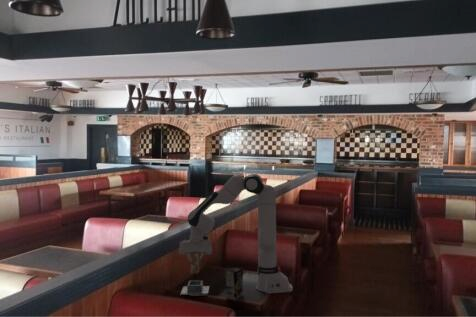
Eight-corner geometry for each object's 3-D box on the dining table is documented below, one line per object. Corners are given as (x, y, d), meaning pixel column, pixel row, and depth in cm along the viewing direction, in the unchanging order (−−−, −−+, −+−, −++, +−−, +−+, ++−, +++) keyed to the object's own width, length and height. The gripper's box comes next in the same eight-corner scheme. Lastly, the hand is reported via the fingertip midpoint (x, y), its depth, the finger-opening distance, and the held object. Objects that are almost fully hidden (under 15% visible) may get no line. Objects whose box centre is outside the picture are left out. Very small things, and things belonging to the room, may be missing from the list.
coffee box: (235, 300, 224) (235, 272, 224) (225, 298, 227) (225, 270, 227) (243, 295, 232) (243, 268, 231) (234, 293, 235) (233, 266, 235)
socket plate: (209, 288, 244) (209, 279, 244) (207, 295, 232) (207, 286, 232) (183, 288, 244) (183, 279, 244) (180, 295, 232) (180, 286, 232)
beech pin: (199, 270, 240) (198, 252, 240) (198, 273, 235) (198, 254, 235) (191, 270, 240) (191, 252, 240) (190, 273, 235) (190, 254, 235)
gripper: (179, 237, 244) (176, 257, 235) (212, 237, 244) (211, 257, 234) (180, 242, 249) (178, 262, 239) (212, 242, 248) (211, 262, 239)
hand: (194, 260), depth 237 cm, fingers closed on beech pin, 4 cm apart
